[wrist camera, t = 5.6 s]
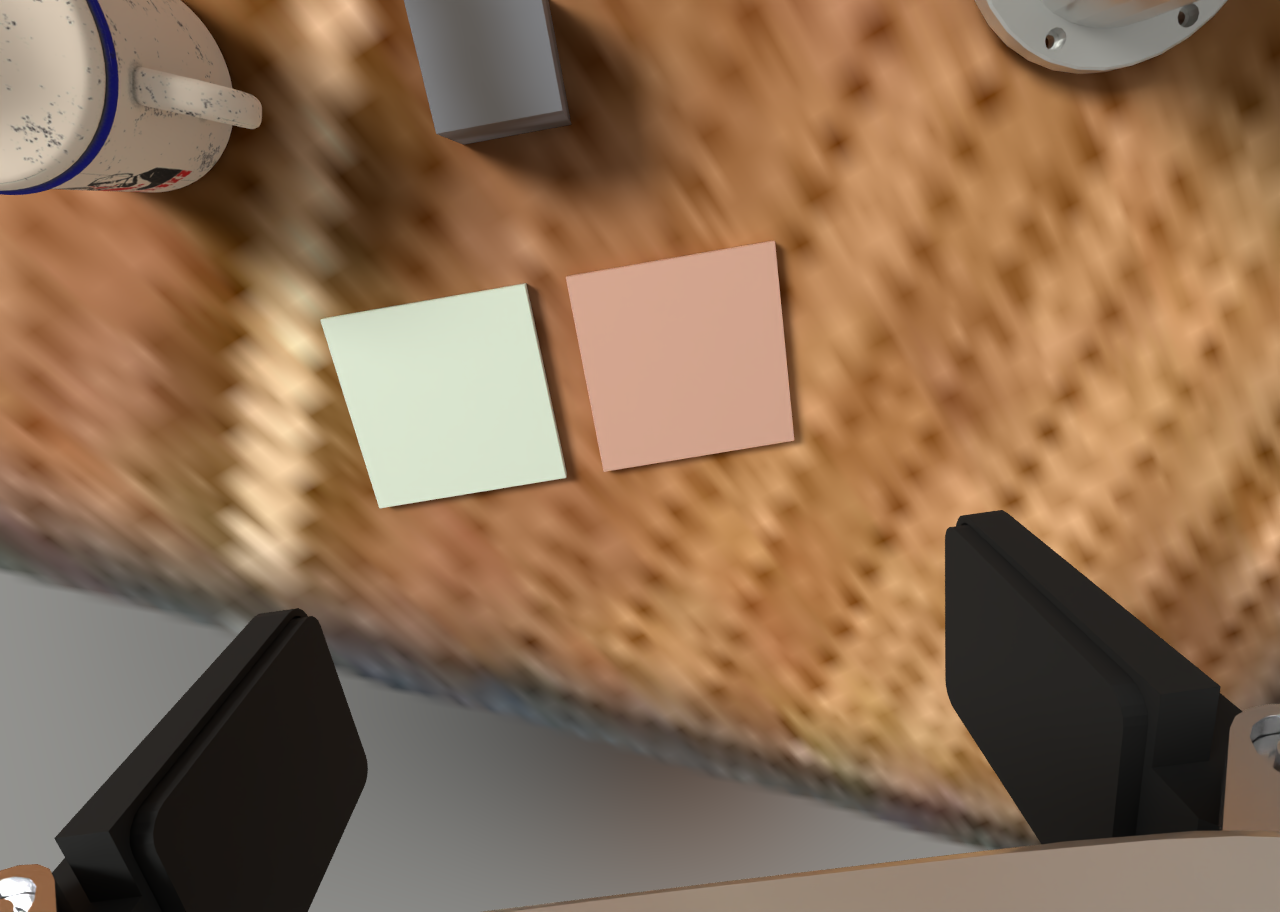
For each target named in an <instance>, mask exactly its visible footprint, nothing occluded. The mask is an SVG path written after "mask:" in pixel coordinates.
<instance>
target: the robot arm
mask: <svg viewBox="0 0 1280 912" xmlns="http://www.w3.org/2000/svg"><path fill="white" fill-rule="evenodd" d="M974 1H975V2H976V4H977V6H978V8H979V9H980V11H981V13H982V15H983V16H984V18H985V20H986V22H987V23H988V25H989V26H990V27H991V28H992V30H993V31H994V32H995V33H996V34H997V35H998V36H999V37H1000V39H1001V40H1002V41H1003V42H1004V43H1005V44H1006V45H1007V46H1008V47H1010V48H1011V49H1012V50H1014V51H1015V52H1017V53H1018V54H1020V55H1021V56H1022V57H1024V58H1025V59H1027V60H1028V61H1031V62H1033V63H1036V64H1038V65H1041V66H1043V67H1046V68H1048V69H1051V70H1054V71H1061V72H1068V73H1075V74H1087V73H1100V72H1108V71H1112V70H1116V69H1120V68H1124V67H1128V66H1132V65H1135V64H1137V63H1140V62H1143V61H1145V60H1148V59H1150V58H1153V57H1156V56H1158V55H1161V54H1162V53H1164V52H1166V51H1167V50H1169V49H1171V48H1172V47H1174V46H1176V45H1177V44H1179V43H1181V42H1182V41H1184V40H1186V39H1187V38H1189V37H1190V36H1191V35H1192V34H1193V33H1195V32H1196V31H1197V30H1198V29H1199V28H1201V27H1202V26H1203V25H1204V24H1205V23H1206V22H1208V21H1209V20H1210V19H1211V18H1212V17H1214V16H1215V14H1216V13H1217V12H1218V11H1219V10H1220V9H1221V8H1222V6H1223V5H1224V4H1225V3H1226V2H1227V1H1228V0H974ZM1046 38H1047V39H1048V42H1049V45H1048V48H1047V47H1046V44H1045V39H1046ZM945 668H946V688H947V693H948V696H949V699H950V702H951V704H952V706H953V708H954V710H955V711H956V713H957V714H958V716H959V717H960V719H961V720H962V722H963V723H964V725H965V727H966V728H967V730H968V731H969V733H970V734H971V736H972V737H973V739H974V740H975V742H976V744H977V745H978V747H979V748H980V750H981V751H982V753H983V754H984V756H985V757H986V759H987V760H988V762H989V764H990V765H991V767H992V768H993V770H994V771H995V773H996V774H997V776H998V777H999V779H1000V781H1001V782H1002V784H1003V785H1004V787H1005V788H1006V790H1007V791H1008V793H1009V794H1010V796H1011V798H1012V799H1013V801H1014V802H1015V804H1016V805H1017V807H1018V808H1019V810H1020V811H1021V813H1022V815H1023V816H1024V818H1025V819H1026V821H1027V822H1028V824H1029V825H1030V827H1031V828H1032V830H1033V832H1034V833H1035V835H1036V836H1037V838H1038V839H1039V841H1040V842H1041V845H1032V846H1024V847H1015V848H1006V849H997V850H988V851H980V852H971V853H962V854H953V855H945V856H937V857H928V858H920V859H911V860H903V861H894V862H886V863H878V864H869V865H860V866H852V867H844V868H835V869H827V870H818V871H809V872H801V873H793V874H784V875H775V876H767V877H758V878H750V879H741V880H733V881H725V882H717V883H708V884H701V885H692V886H684V887H676V888H668V889H660V890H652V891H643V892H635V893H627V894H619V895H612V896H603V897H595V898H587V899H579V900H571V901H563V902H555V903H547V904H539V905H532V906H523V907H515V908H507V909H499V910H491V911H483V912H1280V704H1266V705H1261V706H1256V707H1251V708H1248V709H1246V710H1245V711H1243V712H1242V711H1241V710H1240V709H1239V708H1237V707H1236V706H1235V705H1234V704H1233V703H1231V702H1230V701H1229V700H1228V699H1226V698H1225V697H1224V696H1223V695H1222V694H1220V687H1221V686H1219V685H1218V684H1217V683H1216V682H1214V681H1213V680H1212V679H1211V678H1209V677H1208V676H1207V675H1206V674H1205V673H1203V672H1202V671H1201V670H1200V669H1198V668H1197V667H1196V666H1195V665H1193V664H1192V663H1191V662H1190V661H1189V660H1187V659H1186V658H1185V657H1184V656H1182V655H1181V654H1180V653H1179V652H1177V651H1176V650H1175V649H1174V648H1173V647H1171V646H1170V645H1169V644H1168V643H1166V642H1165V641H1164V640H1163V639H1162V638H1160V637H1159V636H1158V635H1157V634H1155V633H1154V632H1153V631H1152V630H1150V629H1149V628H1148V627H1147V626H1146V625H1144V624H1143V623H1142V622H1141V621H1139V620H1138V619H1137V618H1136V617H1134V616H1133V615H1132V614H1131V613H1130V612H1128V611H1127V610H1126V609H1125V608H1123V607H1122V606H1121V605H1120V604H1118V603H1117V602H1116V601H1115V600H1114V599H1112V598H1111V597H1110V596H1109V595H1107V594H1106V593H1105V592H1104V591H1102V590H1101V589H1100V588H1099V587H1098V586H1096V585H1095V584H1094V583H1093V582H1091V581H1090V580H1089V579H1088V578H1087V577H1085V576H1084V575H1083V574H1082V573H1080V572H1079V571H1078V570H1077V569H1075V568H1074V567H1073V566H1072V565H1071V564H1069V563H1068V562H1067V561H1066V560H1064V559H1063V558H1062V557H1061V556H1059V555H1058V554H1057V553H1056V552H1055V551H1053V550H1052V549H1051V548H1050V547H1048V546H1047V545H1046V544H1045V543H1043V542H1042V541H1041V540H1040V539H1039V538H1037V537H1036V536H1035V535H1034V534H1032V533H1031V532H1030V531H1029V530H1027V529H1026V528H1025V527H1024V526H1023V525H1021V524H1020V523H1019V522H1018V521H1016V520H1015V519H1014V518H1013V517H1012V516H1010V515H1009V514H1008V513H1006V512H1005V511H1003V510H999V511H992V512H985V513H977V514H970V515H963V516H960V517H959V519H958V521H957V524H956V527H949V528H948V529H947V531H946V535H945ZM367 771H368V768H367V759H366V755H365V752H364V749H363V747H362V744H361V741H360V738H359V735H358V732H357V729H356V727H355V724H354V721H353V718H352V715H351V712H350V709H349V707H348V703H347V701H346V698H345V695H344V692H343V689H342V686H341V684H340V681H339V677H338V675H337V672H336V669H335V666H334V663H333V660H332V657H331V654H330V652H329V649H328V646H327V643H326V640H325V637H324V634H323V631H322V629H321V626H320V624H319V622H318V620H317V619H316V618H315V617H313V616H309V617H308V616H307V614H306V613H305V612H304V611H303V610H301V609H299V608H297V609H290V610H283V611H276V612H269V613H262V614H258V615H257V616H255V617H254V618H253V619H252V620H251V621H250V622H249V623H248V625H247V626H246V627H245V628H244V629H243V630H242V631H241V632H240V633H239V635H238V636H237V637H236V638H235V639H234V640H233V641H232V642H231V644H230V645H229V646H228V647H227V648H226V649H225V650H224V651H223V652H222V653H221V655H220V656H219V657H218V658H217V659H216V660H215V661H214V662H213V663H212V664H211V666H210V667H209V668H208V669H207V670H206V671H205V672H204V673H203V674H202V676H201V677H200V678H199V679H198V680H197V681H196V682H195V683H194V684H193V685H192V687H191V688H190V689H189V690H188V691H187V692H186V693H185V694H184V695H183V697H182V698H181V699H180V700H179V701H178V702H177V703H176V704H175V705H174V707H173V708H172V709H171V710H170V711H169V712H168V713H167V714H166V715H165V717H164V718H163V719H162V720H161V721H160V722H159V723H158V724H157V725H156V727H155V728H154V729H153V730H152V731H151V732H150V733H149V734H148V735H147V736H146V738H145V739H144V740H143V741H142V742H141V743H140V744H139V745H138V746H137V748H136V749H135V750H134V751H133V752H132V753H131V754H130V755H129V756H128V758H127V759H126V760H125V761H124V762H123V763H122V764H121V765H120V766H119V768H118V769H117V770H116V771H115V772H114V773H113V774H112V775H111V776H110V777H109V779H108V780H107V781H106V782H105V783H104V784H103V785H102V786H101V787H100V788H99V790H98V791H97V792H96V793H95V794H94V795H93V796H92V797H91V799H90V800H89V801H88V802H87V803H86V804H85V805H84V806H83V808H82V809H81V810H80V811H79V812H78V813H77V814H76V815H75V816H74V817H73V818H72V819H71V821H70V822H69V823H68V824H67V825H66V826H65V827H64V828H63V829H62V831H61V832H60V833H59V834H58V835H57V836H56V837H55V840H56V842H57V843H58V845H59V847H60V849H61V851H62V852H63V854H64V856H65V859H64V860H63V861H62V862H61V863H60V864H59V865H58V867H57V868H56V869H55V870H54V871H53V872H51V871H50V869H48V868H46V867H43V866H41V865H38V864H32V865H19V866H15V867H11V868H8V869H4V870H1V871H0V912H308V910H309V907H310V905H311V903H312V901H313V899H314V897H315V894H316V892H317V890H318V887H319V885H320V883H321V881H322V879H323V877H324V874H325V872H326V870H327V868H328V865H329V863H330V861H331V859H332V857H333V854H334V852H335V850H336V848H337V846H338V843H339V841H340V839H341V837H342V834H343V832H344V830H345V828H346V826H347V823H348V821H349V819H350V817H351V814H352V812H353V810H354V808H355V806H356V804H357V801H358V799H359V797H360V795H361V792H362V790H363V788H364V786H365V783H366V779H367Z"/></svg>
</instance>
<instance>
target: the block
mask: <svg viewBox="0 0 1280 912" xmlns="http://www.w3.org/2000/svg"><path fill="white" fill-rule="evenodd" d="M404 2H405V7H406V11H407V15H408V19H409V23H410V27H411V31H412V35H413V40H414V44H415V48H416V52H417V56H418V60H419V64H420V68H421V72H422V77H423V81H424V85H425V89H426V93H427V97H428V101H429V105H430V110H431V114H432V118H433V122H434V126H435V130H436V134H438V135H441V136H443V137H446V138H448V139H451V140H453V141H456V142H458V143H461V144H463V145H464V144H469V143H475V142H480V141H486V140H491V139H496V138H502V137H507V136H513V135H518V134H523V133H529V132H534V131H540V130H545V129H550V128H556V127H561V126H567V125H571V120H570V115H569V109H568V104H567V98H566V93H565V87H564V82H563V77H562V71H561V66H560V60H559V55H558V49H557V44H556V39H555V33H554V28H553V22H552V17H551V11H550V6H549V1H548V0H404Z"/></svg>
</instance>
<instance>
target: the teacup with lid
mask: <svg viewBox="0 0 1280 912" xmlns="http://www.w3.org/2000/svg"><path fill="white" fill-rule="evenodd" d="M261 121H262V106H261V103H260V101H259V100H258V99H257V98H256V97H254V96H253V95H251V94H248V93H245V92H242V91H239V90H235V89H232V84H231V79H230V75H229V72H228V68H227V66H226V63H225V60H224V58H223V56H222V54H221V51H220V49H219V47H218V45H217V44H216V42H215V40H214V38H213V37H212V35H211V34H210V32H209V31H208V29H207V28H206V26H205V25H204V24H203V23H202V21H201V20H200V19H199V18H198V17H197V15H196V14H195V13H194V12H193V11H192V10H191V9H190V8H189V7H188V6H187V5H185V4H184V3H183V2H182V1H181V0H0V194H4V195H23V194H31V193H38V192H42V191H45V190H49V189H66V190H95V191H124V192H165V191H171V190H175V189H179V188H182V187H185V186H187V185H189V184H191V183H193V182H195V181H197V180H198V179H200V178H201V177H203V176H204V175H205V174H206V173H207V172H208V171H209V170H210V169H211V168H212V167H213V166H214V165H215V164H216V163H217V161H218V160H219V158H220V157H221V155H222V153H223V151H224V150H225V148H226V145H227V143H228V140H229V137H230V134H231V130H232V125H234V126H239V127H243V128H248V129H255V128H257V127H259V126H260V124H261Z"/></svg>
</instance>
